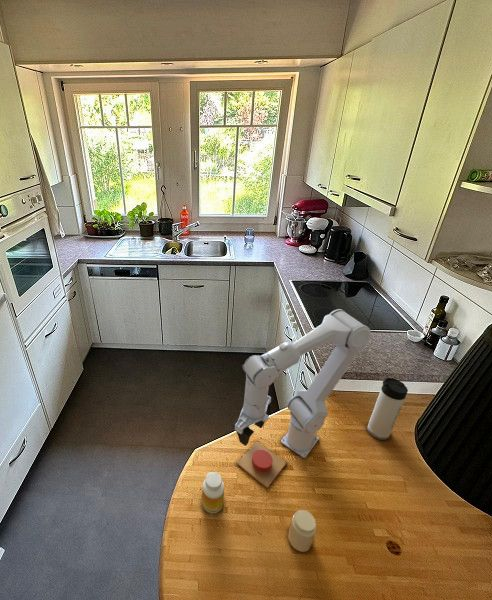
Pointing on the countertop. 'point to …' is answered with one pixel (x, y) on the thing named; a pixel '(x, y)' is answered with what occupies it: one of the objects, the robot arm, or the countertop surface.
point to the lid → (262, 460)
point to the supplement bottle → (213, 492)
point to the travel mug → (387, 408)
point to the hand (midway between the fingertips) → (251, 434)
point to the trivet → (262, 477)
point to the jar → (302, 530)
